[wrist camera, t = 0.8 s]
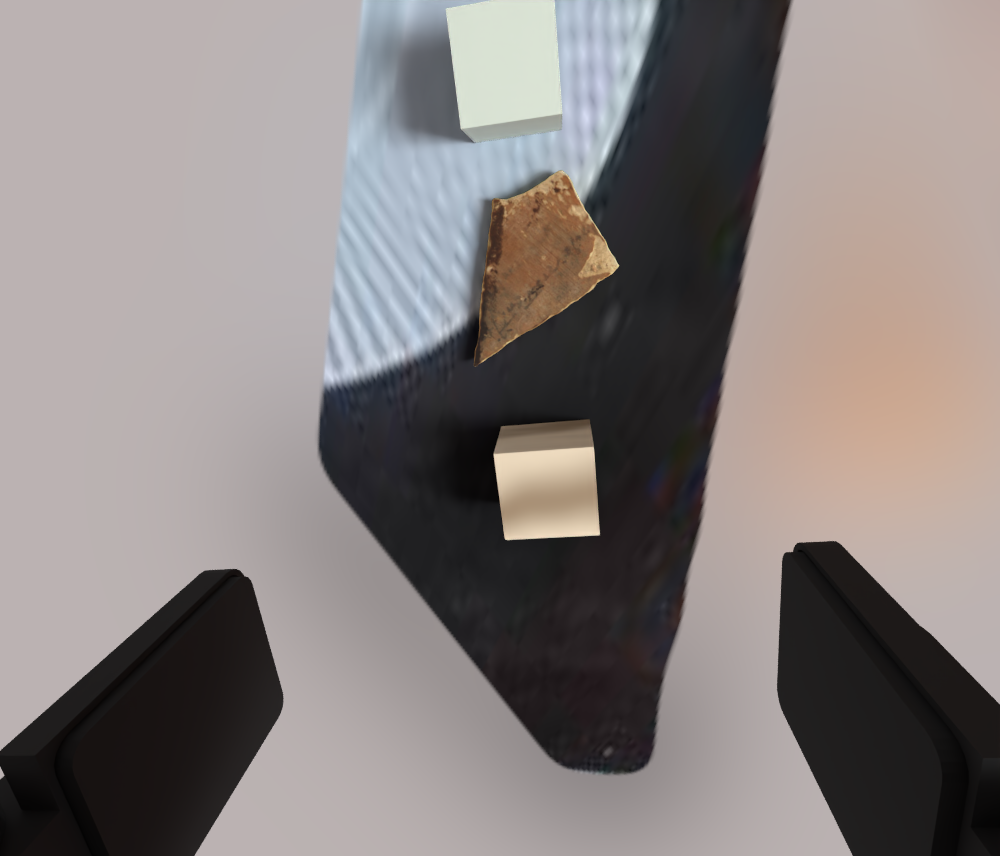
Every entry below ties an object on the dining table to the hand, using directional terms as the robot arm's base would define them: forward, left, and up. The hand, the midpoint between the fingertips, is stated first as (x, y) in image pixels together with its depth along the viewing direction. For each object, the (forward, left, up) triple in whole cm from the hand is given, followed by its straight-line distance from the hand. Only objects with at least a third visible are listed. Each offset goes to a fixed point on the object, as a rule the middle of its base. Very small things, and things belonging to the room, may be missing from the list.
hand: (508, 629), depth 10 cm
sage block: (-14, 0, -28) cm, 31 cm away
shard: (-3, +1, -28) cm, 28 cm away
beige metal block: (+9, 0, -28) cm, 29 cm away
